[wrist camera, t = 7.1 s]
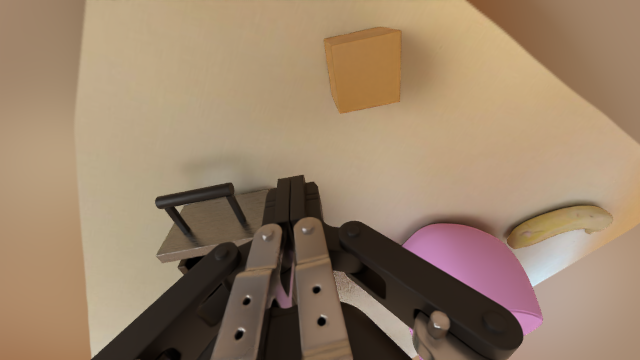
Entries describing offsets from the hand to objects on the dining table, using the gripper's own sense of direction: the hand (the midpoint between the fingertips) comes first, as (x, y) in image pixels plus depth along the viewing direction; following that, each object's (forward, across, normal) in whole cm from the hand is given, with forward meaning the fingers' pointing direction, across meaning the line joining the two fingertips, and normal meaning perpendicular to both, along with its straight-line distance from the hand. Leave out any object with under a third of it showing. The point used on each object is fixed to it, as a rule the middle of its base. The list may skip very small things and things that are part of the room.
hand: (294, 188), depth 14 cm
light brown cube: (+12, -6, -4) cm, 14 cm away
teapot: (+12, -18, +28) cm, 35 cm away
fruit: (+12, -36, +25) cm, 46 cm away
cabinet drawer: (+12, +10, +13) cm, 20 cm away
